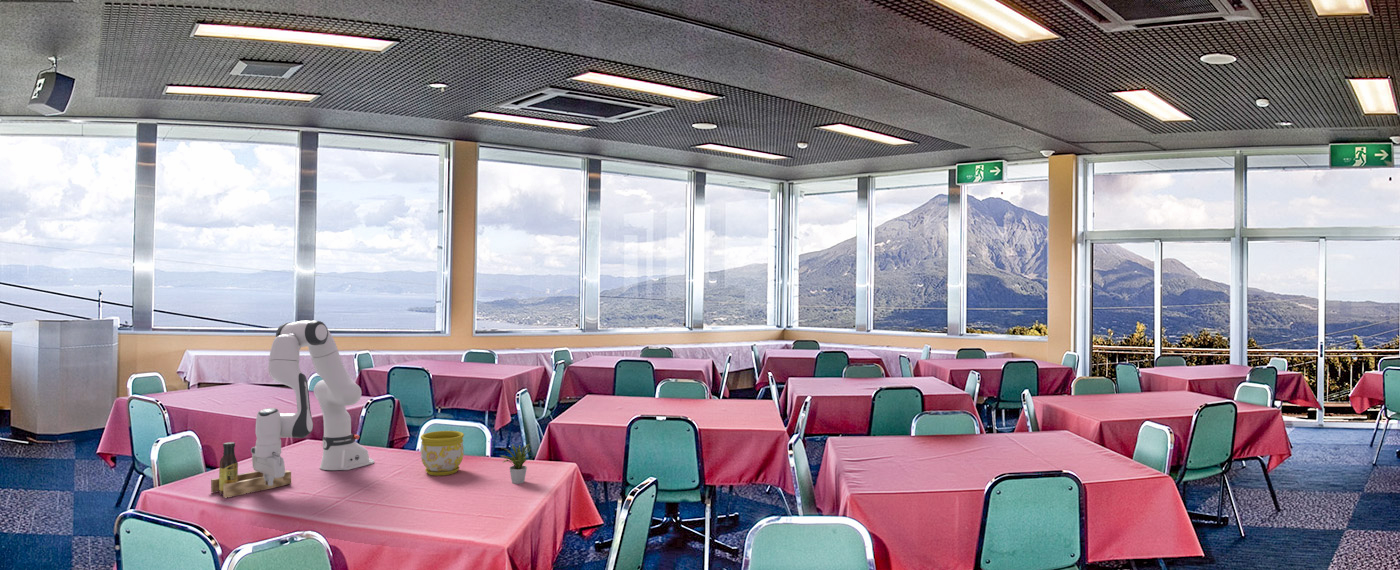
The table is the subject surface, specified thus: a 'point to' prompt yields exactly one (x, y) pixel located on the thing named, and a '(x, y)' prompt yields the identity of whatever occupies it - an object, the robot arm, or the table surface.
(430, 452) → the flowerpot
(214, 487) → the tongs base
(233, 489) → the oak jaw
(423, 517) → the table surface
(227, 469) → the sauce bottle
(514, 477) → the house plant
